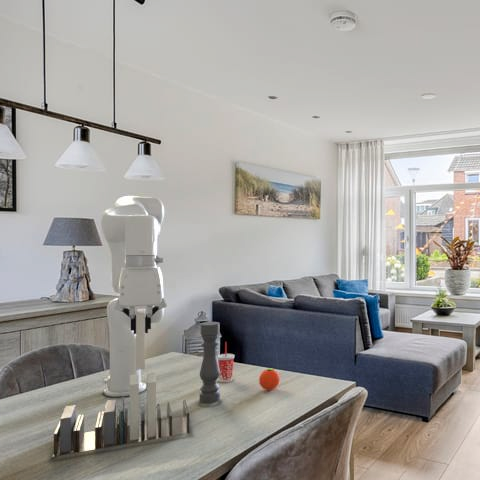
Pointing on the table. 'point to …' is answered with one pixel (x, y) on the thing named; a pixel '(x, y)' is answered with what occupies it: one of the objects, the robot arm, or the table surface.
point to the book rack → (122, 430)
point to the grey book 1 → (67, 428)
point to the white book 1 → (134, 407)
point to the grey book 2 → (109, 422)
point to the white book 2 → (140, 339)
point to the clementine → (269, 379)
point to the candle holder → (209, 364)
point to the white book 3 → (151, 405)
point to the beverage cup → (225, 366)
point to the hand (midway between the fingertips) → (140, 332)
